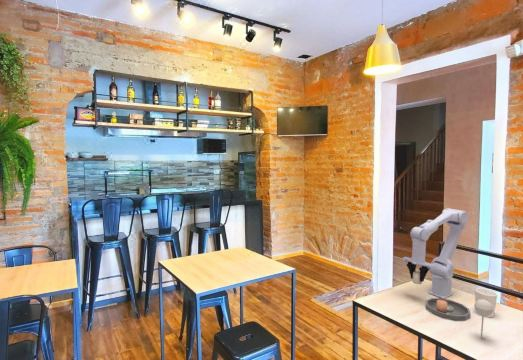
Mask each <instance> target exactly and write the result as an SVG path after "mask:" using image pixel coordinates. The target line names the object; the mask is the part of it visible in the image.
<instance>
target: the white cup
mask: <svg viewBox="0 0 523 360" xmlns="http://www.w3.org/2000/svg"><path fill="white" fill-rule="evenodd" d="M474 294H475V295H474V300H475V301H474V303H475V302H476V301H477V300H480V299H483V300H487V301H488V302H490V303H491V305H492V306H493V312H492V314H491V315H489V316H484V318H493V317H494V316H495V311H496V306H497V298H498V294H497V292H495V291H494V290H491V289H487V288H484V287H483V288H482V287H481V288H479V287H478V288H476V289H475V291H474ZM474 310H475V309H474ZM475 313H476V314H477V315H479V316H481V317H482V315H480V314H479V313H477V311H476V310H475Z"/></svg>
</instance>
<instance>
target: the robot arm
mask: <svg viewBox="0 0 523 360" xmlns="http://www.w3.org/2000/svg"><path fill="white" fill-rule="evenodd" d="M468 220H469V215H468V213H467V211H466V210H460V209H456V208H455V209H453V208H449V207H446V208H445V209H443V210H442V213H441V214H440V215H438V216H437V217H436V218H434V219H427V220H426V222H424V223H422V224H420V225H419V226H414V227H413V228H412V229H411V231H410V232H409V235H410V237H411V242H412V247H411V257H408V256H404V257H402V261H403V262H406V263H407V264H406V267H407V269H408V271H409V275H410V279H412V280H413V271H417V270H416V269H417V266H419V268H418V271H419V272H420V282H422V283H423V282H425V279H426V276H427V274H428V272H429V273H430V274H431V275H430V276H432V279H431V289H430V290H429V291H427V294H430V295H432V296H436V297H437V298H443V299H447V298H448V297H451V296H453V294H454V293H453V292H452V278H453V277H454V271H455V267H456V266H455V265H454V263H453V261H452V259H453V257H454V254H455V251H456V248H457V246H458V243H459V242H460V241H459V240H460V238H461V235H462V233H463V230H464V229H465V228H466V226H467V223H468ZM445 223H446V224H447V226H448V227H449V231H448V234H447V236H446V238H445V242H444V243H443V246H442V248H441V252H440V254H439V256H436V257H434V258H433V259H432V261H431V262H428V261H426V250H427V249H426V248H427V246H426V245H427V241H428V240H429V238H430V236H432V234H433V233H434V232H436V231H438V230H439V226H441V225H443V224H445Z"/></svg>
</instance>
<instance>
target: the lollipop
mask: <svg viewBox="0 0 523 360" xmlns="http://www.w3.org/2000/svg"><path fill="white" fill-rule="evenodd" d="M473 306H474V310H476V311H477V313H479V314H480V315H479V314H478V315H479V316H481V315H482V316H481V328H480V339H483V332H484V331H483V330H484V318H485V317H484V316H489V315H491V314H492V312H493V306H492V305H491V303H490V302H488V301H487V300H483V299H480V300H477V301H476V302H475V301H474V305H473ZM476 311H475V312H476ZM477 313H476V314H477Z"/></svg>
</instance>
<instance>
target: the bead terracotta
mask: <svg viewBox="0 0 523 360" xmlns="http://www.w3.org/2000/svg"><path fill="white" fill-rule="evenodd" d="M436 310H437V311H440V312H442V313H446V314H447V302H446V301H444V300H437V307H436Z"/></svg>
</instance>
